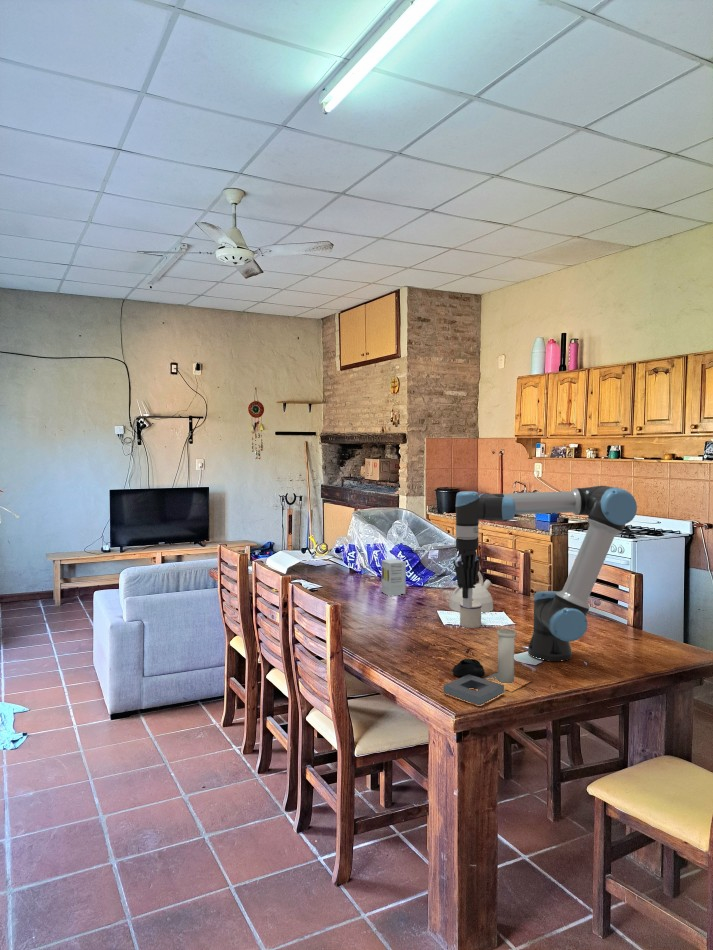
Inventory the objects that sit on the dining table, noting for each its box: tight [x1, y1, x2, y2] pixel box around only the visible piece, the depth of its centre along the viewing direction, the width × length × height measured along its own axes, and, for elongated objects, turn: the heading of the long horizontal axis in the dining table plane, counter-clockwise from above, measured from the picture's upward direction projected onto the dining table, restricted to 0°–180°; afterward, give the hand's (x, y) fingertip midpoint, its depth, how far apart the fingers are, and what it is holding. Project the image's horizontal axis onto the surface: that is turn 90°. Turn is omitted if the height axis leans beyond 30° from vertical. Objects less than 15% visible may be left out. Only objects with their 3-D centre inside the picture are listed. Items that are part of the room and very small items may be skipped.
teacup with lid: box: [459, 598, 482, 629], centre depth 271 cm, size 12×9×12 cm
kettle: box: [448, 570, 494, 613], centre depth 297 cm, size 20×21×18 cm
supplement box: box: [380, 558, 407, 597], centre depth 324 cm, size 10×9×17 cm
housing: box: [443, 674, 505, 705], centre depth 196 cm, size 13×13×3 cm
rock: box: [451, 658, 486, 678], centre depth 212 cm, size 9×10×10 cm
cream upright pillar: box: [496, 628, 517, 683], centre depth 206 cm, size 6×6×16 cm
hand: (467, 607), depth 217 cm, fingers closed
